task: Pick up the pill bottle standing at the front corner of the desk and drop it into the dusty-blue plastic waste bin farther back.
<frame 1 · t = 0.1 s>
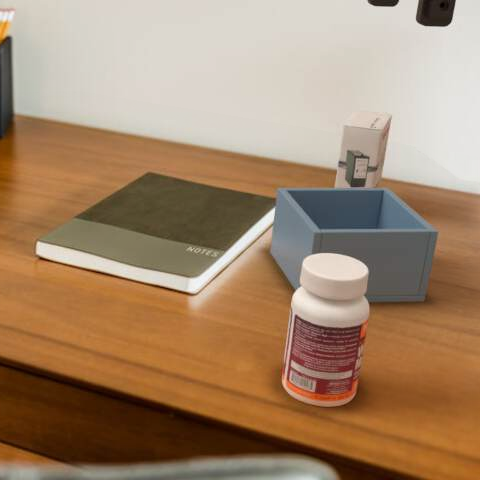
hand: (405, 15, 63), 31 cm above the table, tool pointing down, fingers open, 8 cm apart
bin: (343, 276, 96), on the table
pill bottle: (317, 391, 75), on the table
ink box: (354, 208, 116), on the table
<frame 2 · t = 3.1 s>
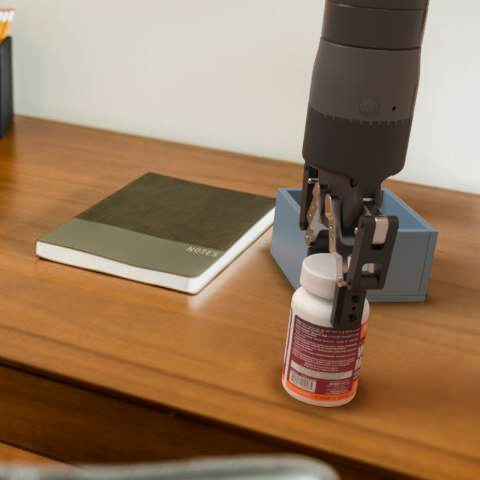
hand: (329, 307, 72), 8 cm above the table, tool pointing down, fingers closed on pill bottle, 6 cm apart
pill bottle: (317, 391, 75), on the table, touching gripper
everything else where it was.
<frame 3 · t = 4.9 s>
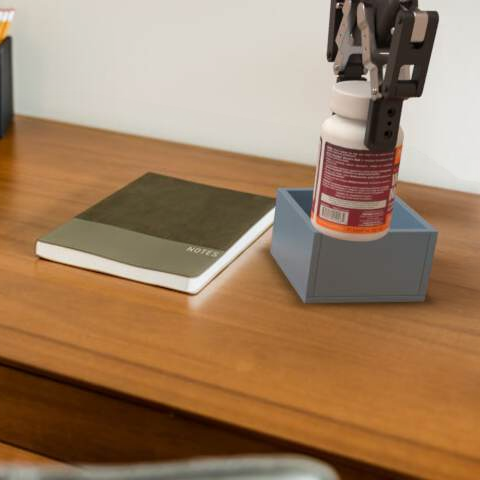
hand: (361, 135, 68), 21 cm above the table, tool pointing down, fingers closed on pill bottle, 6 cm apart
pill bottle: (348, 230, 72), point 14 cm above the table, touching gripper
everything else where it was.
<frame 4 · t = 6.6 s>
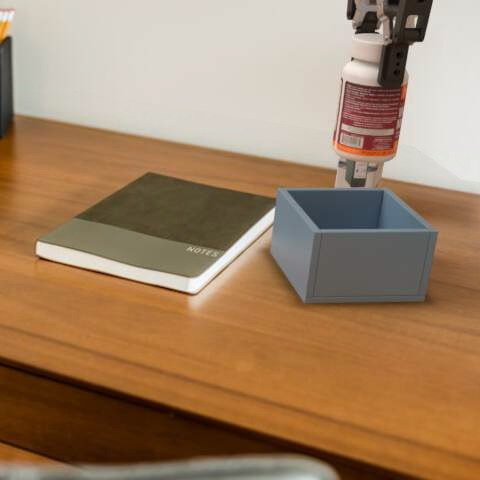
hand: (375, 77, 85), 22 cm above the table, tool pointing down, fingers closed on pill bottle, 6 cm apart
pill bottle: (362, 156, 88), point 14 cm above the table, touching gripper
everything else where it was.
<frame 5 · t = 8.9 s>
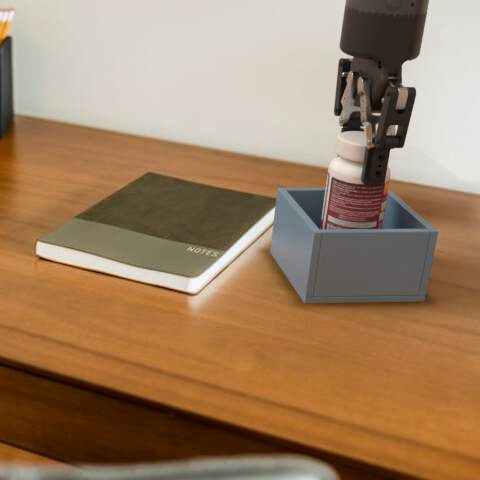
hand: (359, 172, 91), 12 cm above the table, tool pointing down, fingers closed on pill bottle, 6 cm apart
pill bottle: (347, 243, 94), point 4 cm above the table, touching gripper
everything else where it was.
when the fingers open (8 cm above the table, at t = 10.5 s): pill bottle stays where it is, resting on bin.
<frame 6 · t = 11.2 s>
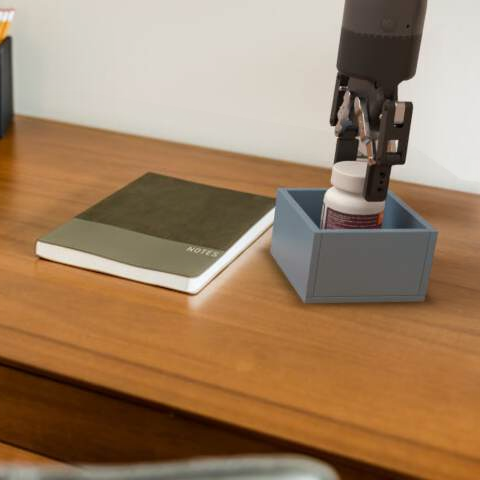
hand: (357, 186, 92), 10 cm above the table, tool pointing down, fingers open, 8 cm apart
pill bottle: (343, 271, 95), point 1 cm above the table, touching bin
everything else where it was.
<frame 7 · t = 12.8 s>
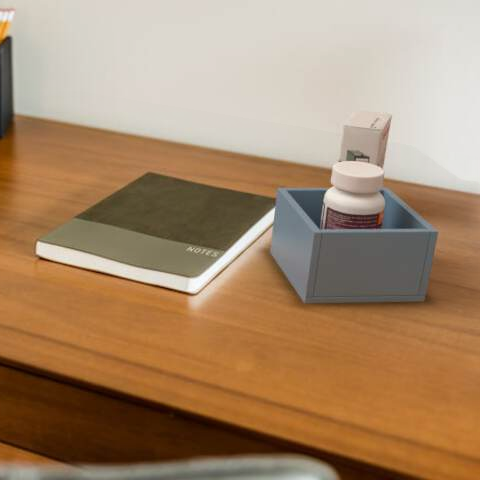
nothing on the table moved.
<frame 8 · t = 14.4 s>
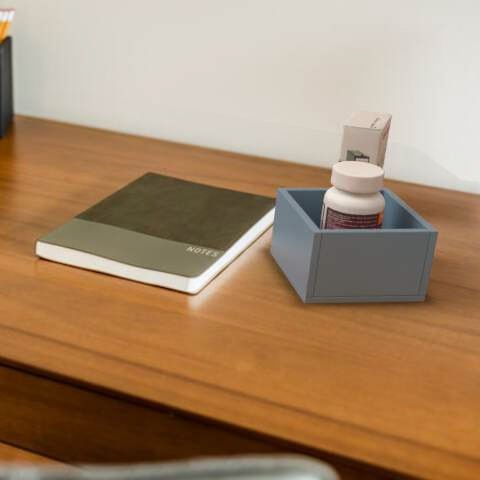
nothing on the table moved.
at the end: pill bottle inside the target area in the bin (0.1 cm from its centre), point 0.6 cm above the bin's base; the gripper is holding nothing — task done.
